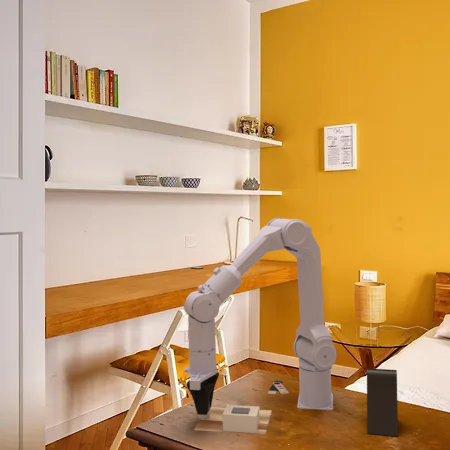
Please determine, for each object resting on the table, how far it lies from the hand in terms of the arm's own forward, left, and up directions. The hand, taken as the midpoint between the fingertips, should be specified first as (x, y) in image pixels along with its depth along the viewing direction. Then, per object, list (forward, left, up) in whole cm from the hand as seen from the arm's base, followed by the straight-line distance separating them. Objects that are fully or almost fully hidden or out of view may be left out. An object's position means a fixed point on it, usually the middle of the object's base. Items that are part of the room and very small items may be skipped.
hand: (204, 410), depth 114 cm
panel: (-3, +6, -3) cm, 7 cm away
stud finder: (+1, +8, -3) cm, 9 cm away
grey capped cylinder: (0, 0, -1) cm, 1 cm away
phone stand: (-5, +37, -3) cm, 37 cm away
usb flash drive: (-23, +14, -4) cm, 27 cm away
